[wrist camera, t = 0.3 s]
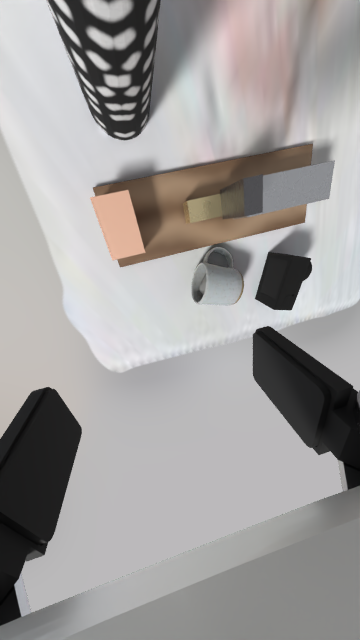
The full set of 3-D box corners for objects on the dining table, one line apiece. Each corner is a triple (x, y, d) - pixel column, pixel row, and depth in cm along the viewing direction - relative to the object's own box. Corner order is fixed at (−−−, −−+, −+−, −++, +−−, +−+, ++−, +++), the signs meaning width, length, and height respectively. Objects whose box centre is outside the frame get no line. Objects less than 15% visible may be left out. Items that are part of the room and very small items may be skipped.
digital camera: (274, 299, 45) (296, 311, 39) (254, 299, 43) (274, 310, 37) (289, 254, 40) (317, 258, 34) (268, 252, 39) (292, 256, 33)
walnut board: (94, 188, 29) (92, 187, 28) (308, 146, 32) (312, 143, 31) (120, 266, 34) (120, 267, 34) (300, 222, 38) (304, 222, 37)
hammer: (182, 199, 30) (200, 187, 21) (304, 173, 32) (367, 152, 23) (186, 227, 32) (205, 225, 23) (301, 200, 34) (359, 190, 25)
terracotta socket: (97, 203, 29) (90, 197, 24) (129, 196, 29) (128, 189, 25) (116, 255, 33) (112, 260, 28) (144, 249, 33) (145, 252, 28)
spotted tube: (106, 31, 23) (0, -660, 5) (161, 99, 26) (211, -172, 9) (73, 100, 25) (-91, -229, 7) (128, 155, 28) (113, 28, 10)
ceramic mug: (223, 299, 42) (240, 312, 35) (188, 296, 40) (199, 309, 33) (236, 249, 38) (258, 253, 31) (198, 243, 36) (212, 245, 29)
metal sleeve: (231, 186, 32) (246, 179, 27) (308, 169, 33) (334, 160, 29) (233, 219, 34) (247, 217, 30) (305, 202, 35) (329, 198, 31)
